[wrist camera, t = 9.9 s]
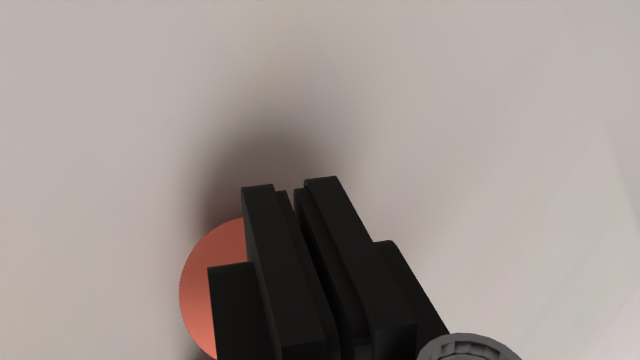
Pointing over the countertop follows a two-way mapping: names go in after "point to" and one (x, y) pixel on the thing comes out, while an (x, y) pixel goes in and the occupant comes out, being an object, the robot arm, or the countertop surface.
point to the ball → (194, 287)
